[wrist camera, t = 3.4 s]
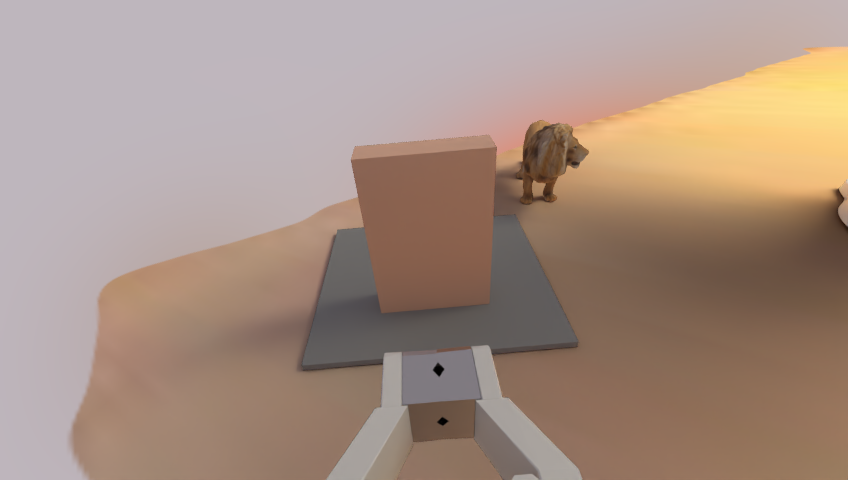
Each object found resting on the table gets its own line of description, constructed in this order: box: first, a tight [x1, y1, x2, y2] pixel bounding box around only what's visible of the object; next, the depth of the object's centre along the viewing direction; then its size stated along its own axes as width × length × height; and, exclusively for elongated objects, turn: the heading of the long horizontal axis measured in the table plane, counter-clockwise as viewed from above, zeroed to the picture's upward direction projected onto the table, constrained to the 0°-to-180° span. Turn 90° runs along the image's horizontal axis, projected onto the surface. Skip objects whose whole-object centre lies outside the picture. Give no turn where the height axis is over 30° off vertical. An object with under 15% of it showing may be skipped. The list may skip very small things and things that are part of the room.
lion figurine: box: [516, 120, 589, 204], centre depth 39 cm, size 15×5×9 cm, turn 179°
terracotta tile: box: [351, 135, 497, 313], centre depth 24 cm, size 8×2×12 cm, turn 93°
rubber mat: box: [301, 215, 579, 370], centre depth 30 cm, size 18×16×1 cm
